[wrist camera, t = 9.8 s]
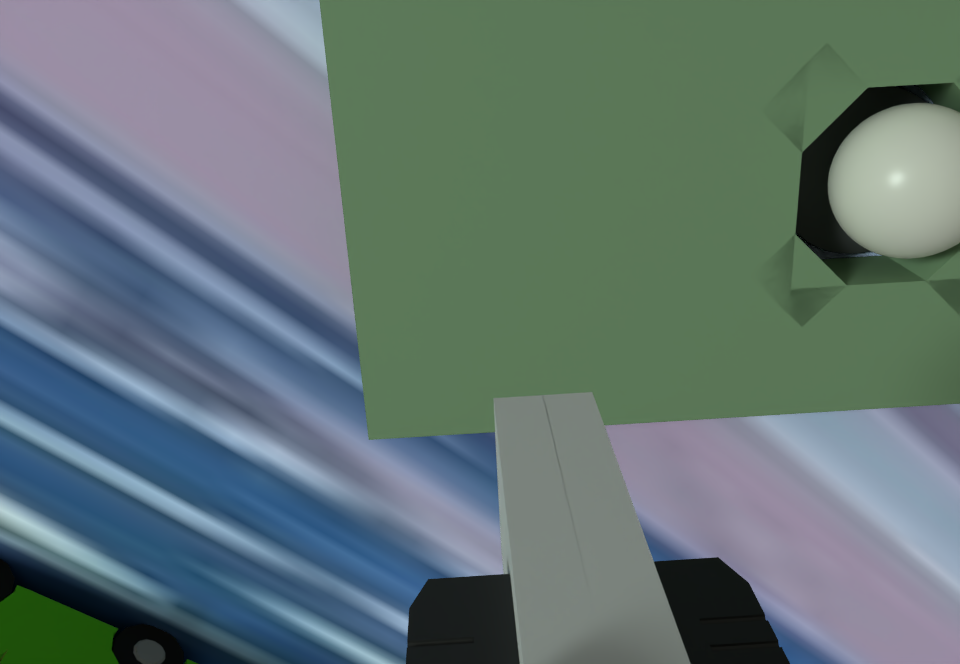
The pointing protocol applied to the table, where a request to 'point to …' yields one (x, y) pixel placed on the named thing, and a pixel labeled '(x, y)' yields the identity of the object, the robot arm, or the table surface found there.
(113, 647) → the green toy van
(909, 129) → the ball
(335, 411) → the table surface
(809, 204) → the putting mat
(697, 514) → the table surface
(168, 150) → the table surface
